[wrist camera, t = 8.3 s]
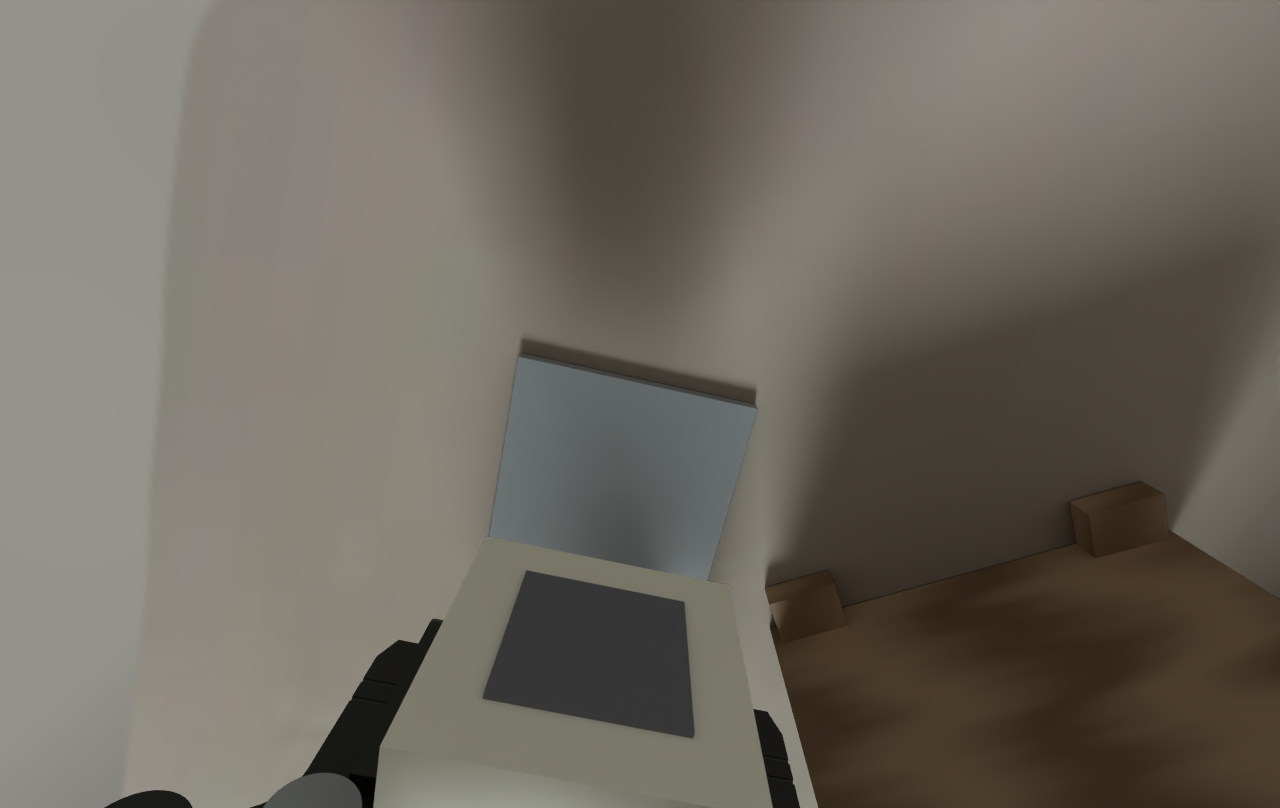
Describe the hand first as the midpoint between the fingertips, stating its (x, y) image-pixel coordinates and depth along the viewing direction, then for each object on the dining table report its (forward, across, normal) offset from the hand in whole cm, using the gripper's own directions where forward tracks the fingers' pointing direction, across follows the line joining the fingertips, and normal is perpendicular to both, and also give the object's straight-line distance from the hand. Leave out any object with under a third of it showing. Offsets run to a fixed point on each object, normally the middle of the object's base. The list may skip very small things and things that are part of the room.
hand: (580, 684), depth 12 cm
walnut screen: (+9, -13, +2) cm, 16 cm away
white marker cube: (+1, 0, 0) cm, 1 cm away
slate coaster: (+10, 0, 0) cm, 10 cm away
